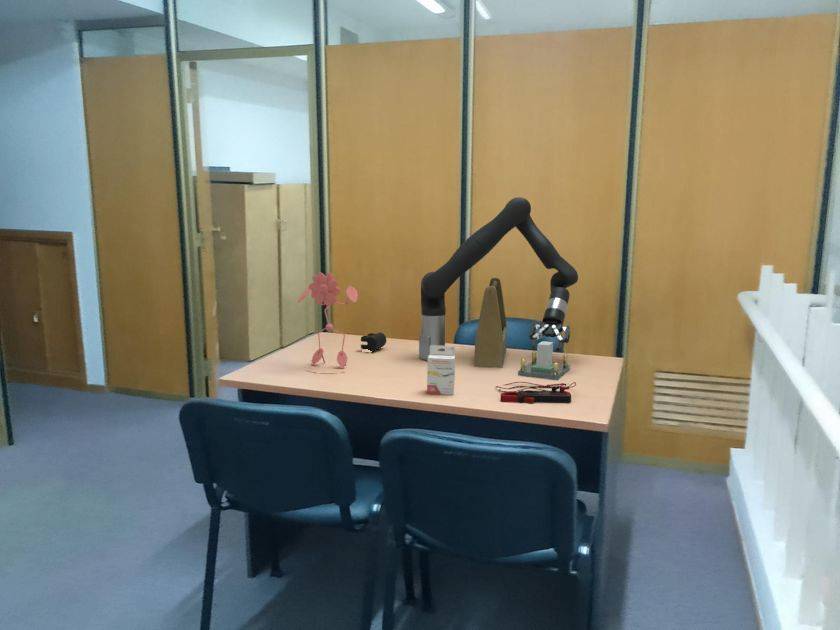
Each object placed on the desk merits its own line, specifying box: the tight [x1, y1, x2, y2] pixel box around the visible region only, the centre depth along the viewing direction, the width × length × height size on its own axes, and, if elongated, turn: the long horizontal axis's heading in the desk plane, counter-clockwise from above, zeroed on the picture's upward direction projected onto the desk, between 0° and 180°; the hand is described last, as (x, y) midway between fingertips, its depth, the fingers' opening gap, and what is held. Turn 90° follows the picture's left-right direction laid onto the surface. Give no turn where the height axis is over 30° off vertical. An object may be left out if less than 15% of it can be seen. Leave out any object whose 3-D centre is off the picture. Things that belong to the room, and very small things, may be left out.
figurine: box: [296, 271, 359, 375], centre depth 238 cm, size 15×26×35 cm, turn 66°
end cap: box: [360, 331, 387, 352], centre depth 271 cm, size 10×7×7 cm
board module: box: [531, 341, 554, 372], centre depth 237 cm, size 7×9×9 cm
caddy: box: [474, 277, 508, 369], centre depth 256 cm, size 29×11×30 cm, turn 170°
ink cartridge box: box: [426, 345, 456, 395], centre depth 210 cm, size 9×5×15 cm, turn 84°
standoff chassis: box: [517, 350, 571, 381], centre depth 237 cm, size 14×17×6 cm
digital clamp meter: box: [495, 381, 577, 404], centre depth 211 cm, size 23×4×25 cm
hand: (545, 349), depth 237 cm, fingers open, 8 cm apart
